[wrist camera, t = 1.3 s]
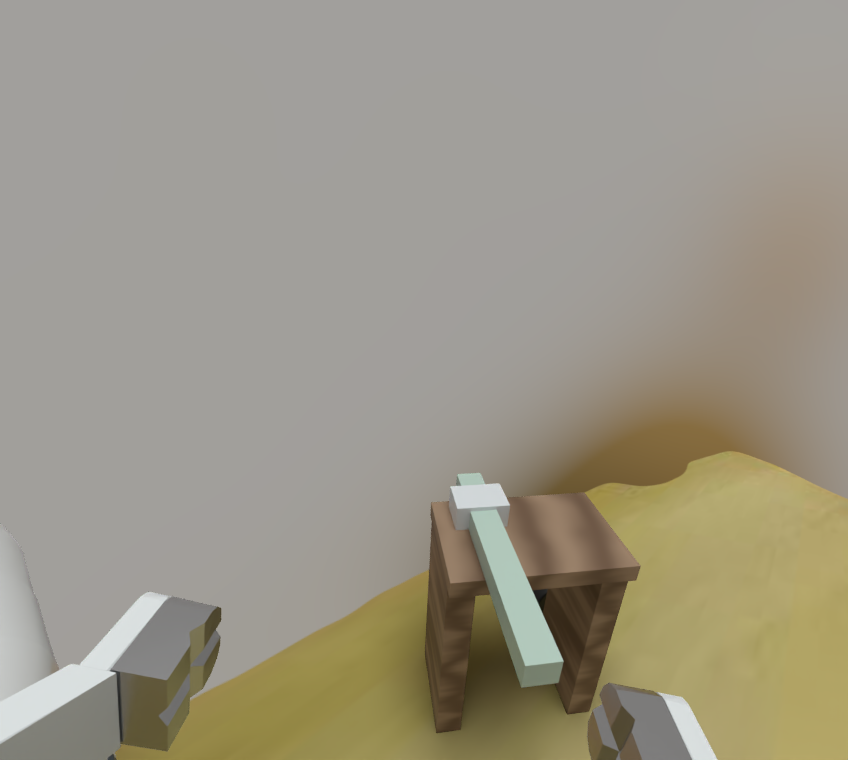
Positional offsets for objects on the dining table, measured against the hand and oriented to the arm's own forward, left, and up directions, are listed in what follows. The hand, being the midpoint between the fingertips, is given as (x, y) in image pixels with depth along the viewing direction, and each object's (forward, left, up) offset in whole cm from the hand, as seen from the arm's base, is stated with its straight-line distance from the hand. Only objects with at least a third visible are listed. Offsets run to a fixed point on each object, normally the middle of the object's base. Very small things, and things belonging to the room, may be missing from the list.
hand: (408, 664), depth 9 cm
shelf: (+17, +29, -51) cm, 61 cm away
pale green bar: (+12, +25, -25) cm, 38 cm away
